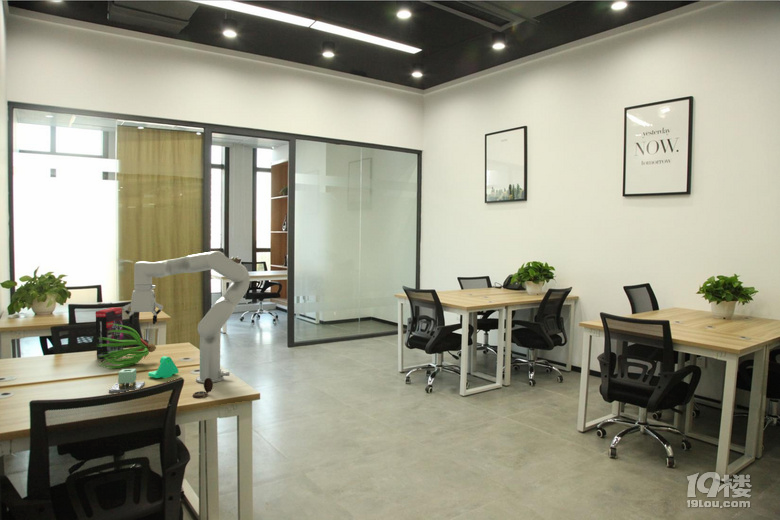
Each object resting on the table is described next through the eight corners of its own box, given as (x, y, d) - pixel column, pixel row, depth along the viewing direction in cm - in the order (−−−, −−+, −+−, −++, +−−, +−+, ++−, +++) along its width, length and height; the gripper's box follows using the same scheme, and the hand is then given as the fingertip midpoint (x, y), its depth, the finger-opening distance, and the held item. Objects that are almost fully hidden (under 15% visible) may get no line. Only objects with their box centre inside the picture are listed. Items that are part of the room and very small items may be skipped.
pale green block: (136, 379, 235) (136, 368, 235) (132, 382, 229) (132, 371, 229) (122, 379, 234) (122, 369, 233) (118, 383, 228) (118, 372, 228)
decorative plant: (162, 372, 279) (108, 383, 254) (137, 357, 292) (82, 365, 267) (170, 327, 276) (115, 333, 251) (144, 314, 289) (89, 318, 264)
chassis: (144, 383, 239) (144, 369, 238) (138, 391, 227) (138, 375, 227) (116, 385, 236) (116, 370, 236) (108, 392, 224) (108, 377, 224)
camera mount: (168, 372, 260) (168, 352, 260) (178, 375, 256) (178, 354, 256) (147, 378, 250) (147, 357, 249) (156, 380, 246) (156, 359, 245)
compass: (189, 396, 222) (189, 379, 221) (206, 392, 228) (206, 376, 227) (199, 400, 217) (199, 383, 216) (216, 396, 223) (216, 379, 222)
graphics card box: (107, 359, 286) (107, 311, 285) (95, 359, 286) (94, 311, 285) (123, 352, 303) (123, 307, 302) (112, 352, 303) (112, 307, 302)
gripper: (164, 287, 244) (164, 322, 245) (125, 287, 240) (125, 323, 241) (161, 288, 237) (161, 324, 238) (120, 288, 233) (121, 325, 234)
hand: (143, 323), depth 239 cm, fingers open, 9 cm apart
